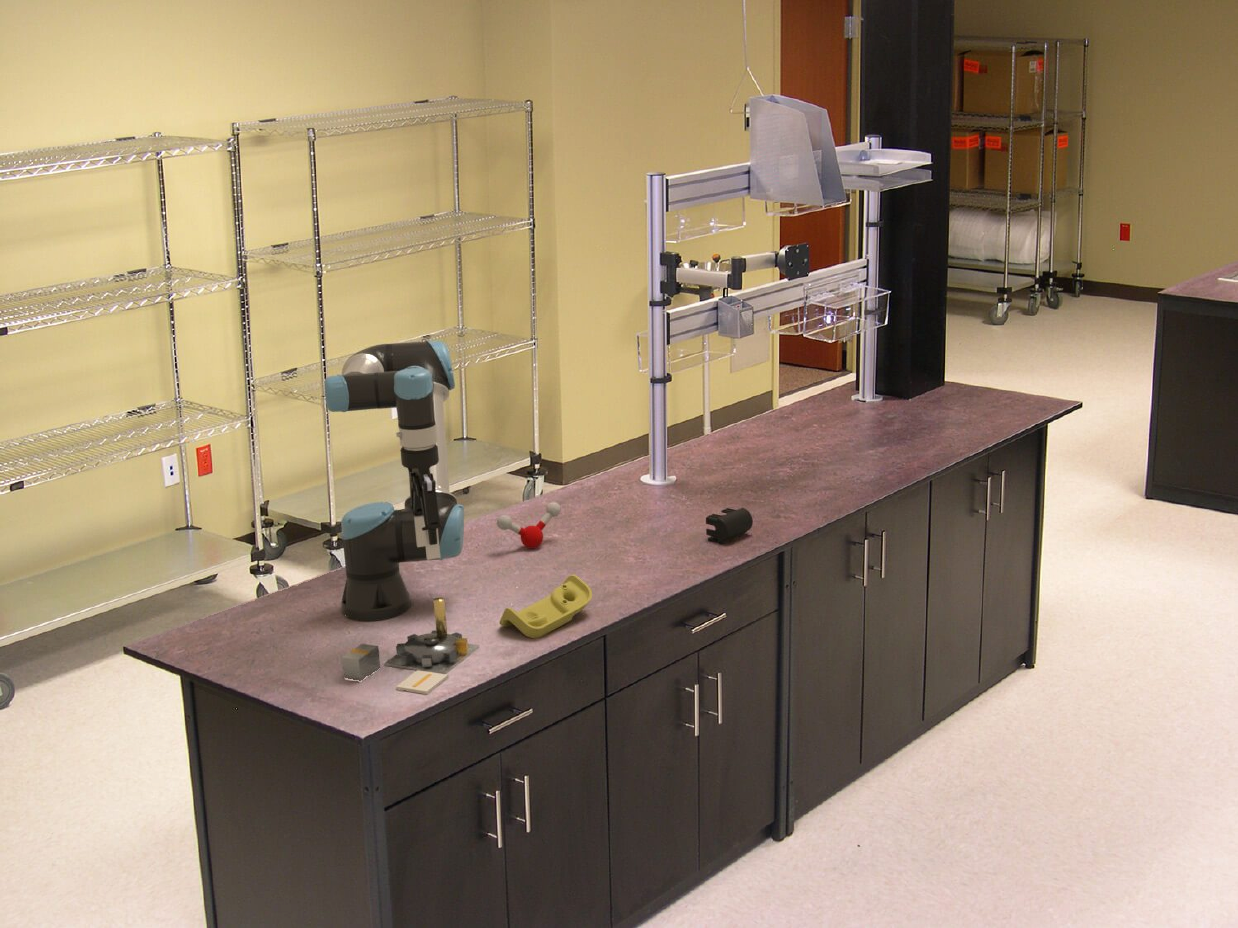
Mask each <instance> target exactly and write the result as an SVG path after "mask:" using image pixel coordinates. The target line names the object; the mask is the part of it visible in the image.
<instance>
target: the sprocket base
mask: <svg viewBox="0 0 1238 928" xmlns="http://www.w3.org/2000/svg"><path fill="white" fill-rule="evenodd" d="M479 648H480V645H479V644H474V643H468V651H467V653H458V654H457V660H456V661H453V662H451V663H449V662H447V661H444V662H439V663H433V664H432V667H423V666H422V664H420V663H414V662H411V663H409V664H404V663H402V662H401V656H400V655H397V654H395V655H394V656H392V657H391V658H390V659H388V660H387V661H386V662H384V666H386V667H393V668H399V669H400V668H401V669H405V670H414V671H417V670H420V671H427V672H433V673H440V674H448V673H449V672H450V671H451V670H452V669H454V668H455V667H456V666H457V665H459V664H460V663H461V662H463V661H464V660H465V659H467V658H468V657H469V656H470V655H472V654H473V653H474V652H476V651H477V650H478V649H479ZM471 653H472V654H471Z"/></svg>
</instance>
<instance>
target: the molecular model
mask: <svg viewBox="0 0 1238 928" xmlns="http://www.w3.org/2000/svg"><path fill="white" fill-rule="evenodd" d="M545 507H546V508H545V511H546V512H545V514H544V515H543V516H542V518H541V519H540V520H539V521H538V523H536V525H528V526H526V527H522V526H520V525H518V524H517V523H515V522H513V520H512V518H511V517H510V516H509V515H508V514H501V515H499V517H498V518H497V520H496V525H497V527H498V528H499V529H500V530H502V531H507V530H509V531H511V532H514V533H516V534H518V535H519V536H520V541H521V543H522V544H523V546H524V547H525V548H527V549H535V548H538V547H540V546H541V545H542V543H543V541H544V534H543V530H544V528H545V527H546V525H548V523H549V522H550V521H551V519H552V518H555V517H557V516H559V515H560V514H561V511H562V507H561V505H560V504H559V503H558V502H556V501H552V502H550V503H548V504H547V506H545Z"/></svg>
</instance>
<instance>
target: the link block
mask: <svg viewBox="0 0 1238 928" xmlns="http://www.w3.org/2000/svg"><path fill="white" fill-rule="evenodd" d="M379 650H380V649H379V645H374V644H372V645H371V644H367V643H361V644H358V645H357V646H355V648H352V649H351V650H349V652H347V653H345V654H344V655H343V656H341V666H342V674H343V678H344V677H345V678H348V679H353V680H359V681H361V680H363V679H364V678H365V677H366V676H369V675H371V674H372V673H373V672H375V671H377V670H378V669H379V668H381V659H380V651H379ZM379 670H380V669H379ZM379 670H378V671H379ZM378 671H377V672H378ZM375 673H376V672H375ZM372 675H373V674H372ZM372 675H371V676H372Z"/></svg>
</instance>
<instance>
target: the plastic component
mask: <svg viewBox="0 0 1238 928" xmlns="http://www.w3.org/2000/svg"><path fill="white" fill-rule="evenodd" d="M592 597H593V591H592V589H591V587H590V586H589V585H588V584H587V583H586V581H583V580H582V579H581V578H580V577H579V576H577V574H571V575H569V576H568V577H567V578H566V579H565V580H564V581H563V582H562V584H560V586H558V587H556V588H554V589H553V590H552V592H551V594H549V595H547V596H546V597H544V598H542V599H541V600H540V599H539V600H538V601H536V602H534V603H532V604H531V605H529V606H527V607H524V608H523V609H521V610H518V611H517V612H516V610H514V609H513V608H512V607H510V606H508V607H507V608H505V609H504V611H503V613H502V615H501V618H500V620H499V625H500V626H501V627H503V628H508V627H510V626H512V625H514V626H515V627H516V628H517V629H518V630H519V631H520V632H521V633H522V634H524V635H525V636H526V637H528V638H531V639H537V638H540V637H543V636H544V635H546V634H548V633H550V632H552V631H553V630H555V629H558V628H559V627H561V626H564V625H565V624H567V623H569V622H570V621H572V619H573V617H574V616H575V615H576V614H578V613H580V612H581V611H583V609H585V607H587V605H588V604H589V603H590V601H591V600H592Z"/></svg>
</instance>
